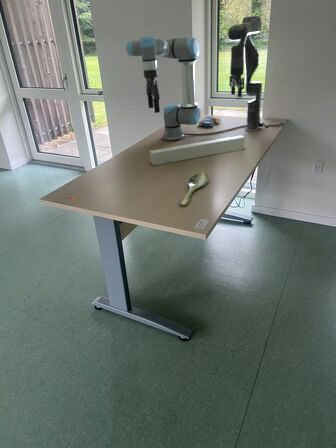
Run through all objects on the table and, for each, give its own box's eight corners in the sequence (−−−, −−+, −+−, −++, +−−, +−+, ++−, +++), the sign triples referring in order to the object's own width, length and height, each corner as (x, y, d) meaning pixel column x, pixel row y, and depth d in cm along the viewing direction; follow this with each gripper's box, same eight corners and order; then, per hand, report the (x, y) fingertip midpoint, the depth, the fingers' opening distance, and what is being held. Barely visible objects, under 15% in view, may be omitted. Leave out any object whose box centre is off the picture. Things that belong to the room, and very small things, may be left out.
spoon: (193, 209, 156) (193, 205, 155) (172, 207, 159) (171, 203, 158) (212, 175, 182) (212, 172, 181) (193, 174, 186) (193, 170, 184)
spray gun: (223, 120, 277) (206, 120, 284) (223, 115, 275) (206, 115, 281) (214, 128, 262) (197, 127, 268) (214, 122, 260) (196, 122, 266)
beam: (153, 165, 204) (152, 153, 200) (151, 162, 208) (149, 150, 204) (244, 148, 217) (244, 137, 213) (240, 146, 221) (241, 135, 217)
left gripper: (163, 70, 170) (166, 113, 181) (151, 66, 190) (154, 105, 201) (149, 72, 168) (153, 115, 179) (138, 68, 189) (142, 106, 200)
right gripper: (249, 66, 187) (247, 96, 195) (237, 64, 199) (236, 92, 207) (236, 67, 185) (236, 98, 194) (225, 65, 197) (225, 94, 205)
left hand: (154, 110), depth 190 cm, fingers open, 13 cm apart
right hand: (236, 95), depth 200 cm, fingers open, 8 cm apart
